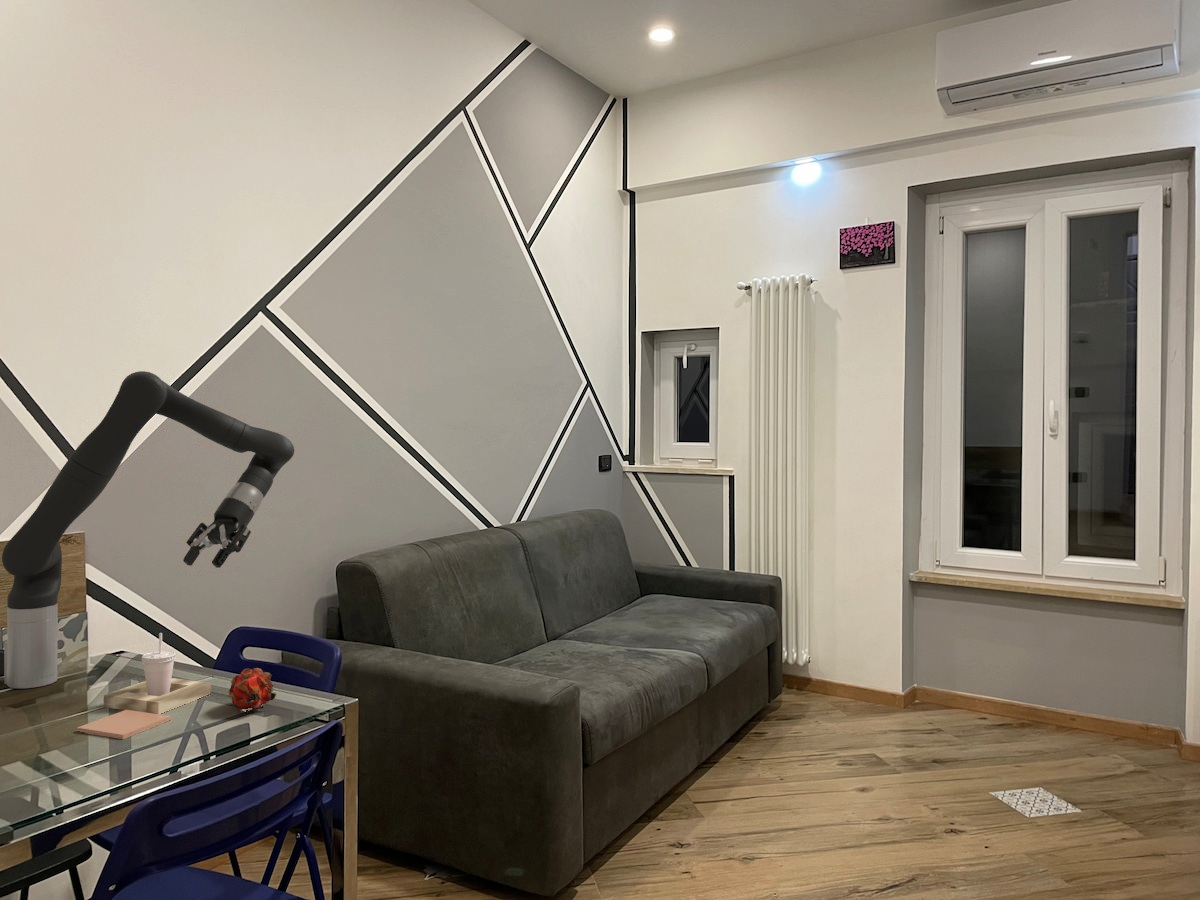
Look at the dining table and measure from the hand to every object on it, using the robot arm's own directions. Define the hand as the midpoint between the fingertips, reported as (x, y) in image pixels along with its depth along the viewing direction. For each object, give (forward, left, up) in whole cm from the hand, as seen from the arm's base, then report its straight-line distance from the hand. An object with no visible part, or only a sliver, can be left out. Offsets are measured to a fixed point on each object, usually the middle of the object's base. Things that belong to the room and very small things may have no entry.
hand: (201, 564), depth 188 cm
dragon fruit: (+20, -8, -27) cm, 35 cm away
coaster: (+5, -25, -27) cm, 37 cm away
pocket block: (-1, -11, -27) cm, 29 cm away
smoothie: (-1, -11, -27) cm, 29 cm away
